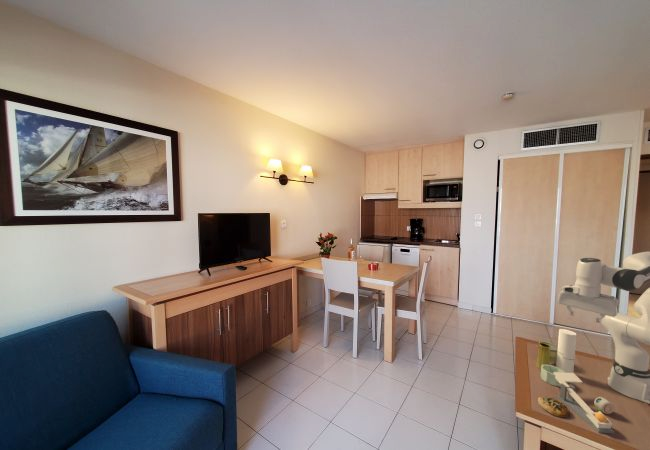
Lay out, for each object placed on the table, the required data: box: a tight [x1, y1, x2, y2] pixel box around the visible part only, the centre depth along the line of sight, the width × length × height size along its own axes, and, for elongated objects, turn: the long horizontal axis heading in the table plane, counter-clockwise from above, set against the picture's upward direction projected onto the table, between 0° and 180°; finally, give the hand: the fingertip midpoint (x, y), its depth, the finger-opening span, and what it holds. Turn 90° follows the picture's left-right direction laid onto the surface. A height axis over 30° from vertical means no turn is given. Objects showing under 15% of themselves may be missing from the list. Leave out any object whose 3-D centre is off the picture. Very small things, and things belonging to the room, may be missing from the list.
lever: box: [553, 372, 614, 429], centre depth 118 cm, size 26×13×3 cm, turn 178°
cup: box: [540, 364, 565, 388], centre depth 137 cm, size 10×10×6 cm
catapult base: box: [555, 383, 614, 434], centre depth 115 cm, size 20×6×8 cm, turn 179°
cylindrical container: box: [555, 328, 577, 373], centre depth 142 cm, size 7×7×25 cm
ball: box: [595, 413, 608, 423], centre depth 107 cm, size 4×4×4 cm
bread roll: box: [537, 396, 570, 418], centre depth 118 cm, size 11×11×5 cm
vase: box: [535, 342, 551, 371], centre depth 148 cm, size 6×6×14 cm
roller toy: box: [593, 396, 615, 415], centre depth 117 cm, size 4×6×6 cm
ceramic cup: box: [538, 341, 558, 365], centre depth 156 cm, size 13×10×10 cm
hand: (584, 318), depth 123 cm, fingers open, 8 cm apart
